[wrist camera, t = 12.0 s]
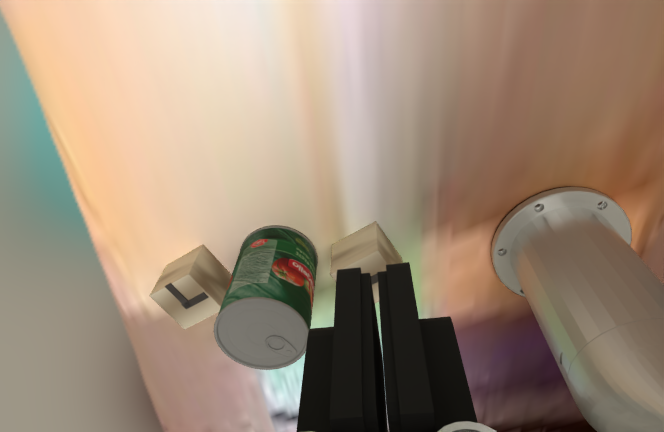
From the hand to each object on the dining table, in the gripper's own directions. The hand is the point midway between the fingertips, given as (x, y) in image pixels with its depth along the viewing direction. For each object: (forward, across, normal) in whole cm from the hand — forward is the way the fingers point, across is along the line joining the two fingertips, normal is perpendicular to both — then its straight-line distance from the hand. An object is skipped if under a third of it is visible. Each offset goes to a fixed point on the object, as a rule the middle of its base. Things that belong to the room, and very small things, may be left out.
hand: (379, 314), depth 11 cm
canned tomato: (+31, +11, +19) cm, 38 cm away
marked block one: (+31, +2, +20) cm, 37 cm away
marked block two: (+31, +19, +20) cm, 42 cm away
